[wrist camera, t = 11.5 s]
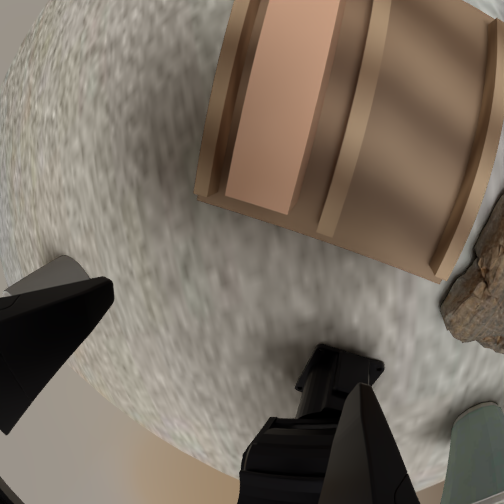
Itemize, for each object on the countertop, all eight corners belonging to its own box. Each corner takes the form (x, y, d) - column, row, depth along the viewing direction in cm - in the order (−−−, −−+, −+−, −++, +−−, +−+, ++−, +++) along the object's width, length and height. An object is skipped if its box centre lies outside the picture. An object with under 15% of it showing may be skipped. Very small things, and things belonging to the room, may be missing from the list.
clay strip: (297, 202, 17) (287, 215, 14) (243, 185, 18) (224, 195, 15) (350, -20, 10) (348, -43, 7) (295, -28, 10) (284, -51, 8)
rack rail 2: (440, 269, 15) (446, 281, 14) (429, 264, 16) (434, 276, 14) (499, 32, 7) (508, 26, 6) (487, 24, 7) (496, 17, 6)
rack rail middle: (333, 229, 17) (332, 237, 16) (318, 223, 17) (315, 232, 16) (392, -20, 9) (394, -31, 7) (377, -24, 9) (378, -36, 7)
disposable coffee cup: (498, 425, 19) (508, 517, 6) (429, 446, 23) (423, 544, 10) (519, 377, 16) (546, 489, 3) (437, 405, 21) (439, 533, 8)
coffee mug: (65, 306, 35) (20, 340, 26) (50, 247, 31) (-5, 279, 22) (126, 341, 32) (76, 391, 23) (112, 275, 27) (45, 324, 19)
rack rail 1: (218, 192, 19) (206, 197, 17) (205, 188, 19) (193, 193, 17) (272, -40, 10) (265, -51, 9) (258, -40, 10) (251, -50, 9)
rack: (436, 277, 17) (439, 284, 16) (203, 197, 20) (196, 200, 19) (498, 29, 7) (504, 25, 7) (259, -42, 11) (254, -48, 10)
